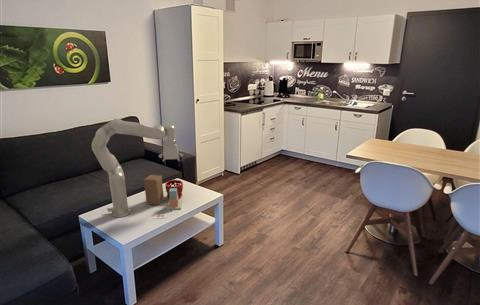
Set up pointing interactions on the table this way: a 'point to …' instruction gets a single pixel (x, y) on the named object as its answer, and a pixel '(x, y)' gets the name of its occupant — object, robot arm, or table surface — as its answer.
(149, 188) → the wooden block
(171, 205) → the brick terracotta
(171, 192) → the brick teal
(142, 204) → the table surface
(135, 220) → the table surface
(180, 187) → the plant pot
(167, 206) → the build plate
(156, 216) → the page
